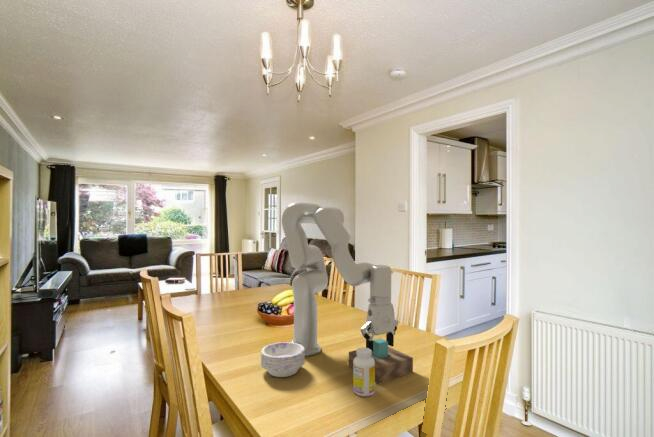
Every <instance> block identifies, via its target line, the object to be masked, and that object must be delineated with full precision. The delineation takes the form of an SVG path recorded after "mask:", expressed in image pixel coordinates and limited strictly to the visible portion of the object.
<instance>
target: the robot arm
mask: <svg viewBox="0 0 654 437" xmlns="http://www.w3.org/2000/svg"><path fill="white" fill-rule="evenodd" d="M344 222H345V214H344V213H343V211H342V210H341V209H340V208H338V207H333V206H328V205H322V204H317V203H308V202H307V203H306V202H293V203H290V204H289V205H288V206H286V207H285V209H284V211H283V212H282V216H281V226H282V229H283V233H284V237H285V241H286V247H287V251H288V255H289V261H290V265H291V266H292V267H293V268H294V269H295V270H305V269H306V271H303V272H300V273H298V274H296V275H295V276H294V277H293V279H292V282H291V290H292V291H291V292H292V295H293V338H291V341H290V342H292V343H297V344H300V345H302V346H303V347H304V349H305V357H310V356H315V355H317V354H319V353H320V352H321V350H322V346H321V345H320V344H319V343H318V301H317V299H316V294H317V293H320V292H322V291H324V290H326V288H327V286H328V282H329V276H328V272H327V268H326V264H325V263H326V262H325V258H324V255H323V252H322V250H321V249H320V247H318V246H317V245H314V244H309V242H308V238H307V234H306V231H305V230H304V228H303V227H302V224H315V225H316V226H317V227H318V228H319V231H320V232H321V234H322V235H323V237H324V238H325V240H326V241H327V243H328V245H329V247H330V248H331V255H332V260H333V264H334V266H335V268H336V270H337V271H338V273H339V275H340V276H341V278H342V279H343V280H344V282H345V283H346V284H348V285H349V286H351V287H358V286H361V285H363V284H368V283H369V298H368V300H367V302H369V303H368V307H367V312H366V322H365V324H364V325H363V326H361V327H360V329H359V330H360V332H361V335H362V336H363V339H365V348H369V349H371V351H372V352H373V340H374V338H375V336H379V335H385V337H386V341H388V346H389V347H394V344H395V343H394V338H395V337H394V336H395V335H396V331H397V329H398V326H399V320H397V319H395V308H394V304H393V303H392V268H391V266H389V265H385V264H384V265H383V264H373V263H369V262H359V263H356V261H355V260H354V258H353V256H352V255H351V253H350V249H349V243H350V241H351V235H350V234H349V232H348V230H347V229H346V228H345V226H344Z"/></svg>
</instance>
